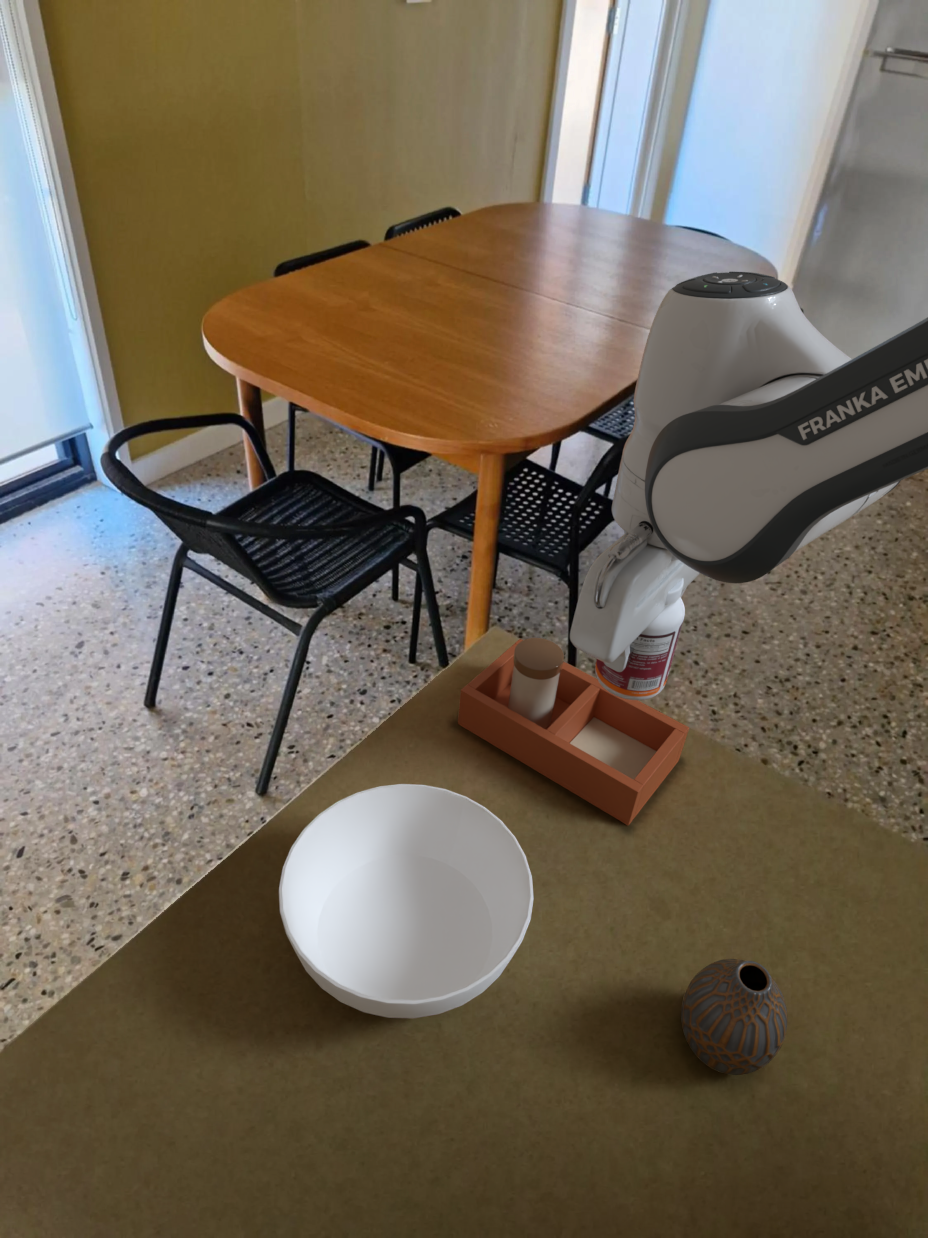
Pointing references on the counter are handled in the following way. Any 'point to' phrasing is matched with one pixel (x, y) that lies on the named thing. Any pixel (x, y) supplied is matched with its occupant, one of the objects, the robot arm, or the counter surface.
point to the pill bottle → (648, 654)
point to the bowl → (405, 899)
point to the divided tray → (579, 737)
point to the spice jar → (535, 679)
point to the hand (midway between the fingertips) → (638, 641)
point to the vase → (734, 1016)
